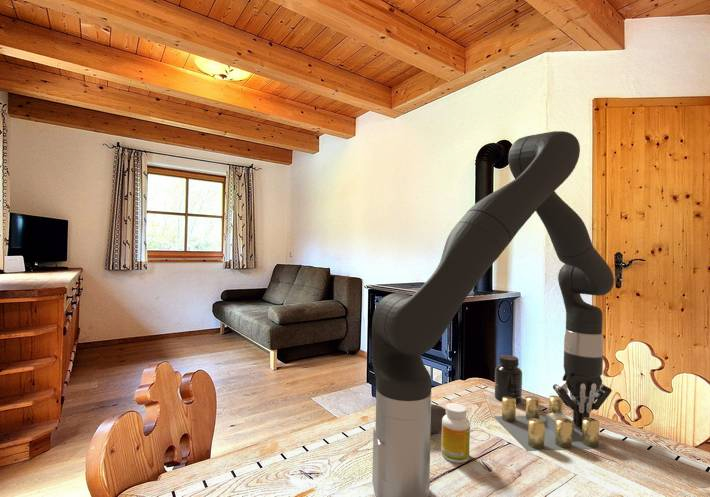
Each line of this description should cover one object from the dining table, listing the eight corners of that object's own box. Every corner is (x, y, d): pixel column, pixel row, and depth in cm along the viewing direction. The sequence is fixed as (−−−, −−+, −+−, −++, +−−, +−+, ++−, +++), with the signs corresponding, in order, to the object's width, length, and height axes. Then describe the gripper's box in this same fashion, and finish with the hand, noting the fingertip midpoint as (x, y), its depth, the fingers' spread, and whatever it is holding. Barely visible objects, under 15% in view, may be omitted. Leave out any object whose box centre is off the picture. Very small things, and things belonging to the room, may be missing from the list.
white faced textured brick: (556, 435, 80) (557, 421, 80) (545, 426, 84) (546, 413, 84) (573, 435, 80) (574, 421, 80) (562, 426, 84) (562, 413, 84)
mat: (498, 454, 73) (498, 451, 73) (469, 419, 88) (469, 416, 88) (605, 451, 75) (605, 448, 75) (559, 417, 90) (559, 414, 90)
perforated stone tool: (446, 426, 85) (447, 396, 85) (455, 437, 80) (456, 406, 80) (383, 429, 83) (384, 398, 83) (389, 441, 77) (389, 409, 77)
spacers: (533, 449, 74) (533, 425, 74) (499, 416, 89) (500, 396, 89) (602, 447, 75) (602, 423, 75) (558, 415, 90) (558, 395, 90)
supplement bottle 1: (470, 465, 69) (471, 414, 69) (441, 461, 70) (442, 411, 70) (467, 450, 75) (468, 403, 75) (440, 446, 76) (441, 400, 76)
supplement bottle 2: (489, 398, 101) (489, 355, 101) (506, 394, 104) (507, 352, 104) (508, 408, 95) (509, 362, 95) (527, 403, 98) (528, 359, 98)
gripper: (566, 355, 78) (564, 436, 78) (623, 356, 79) (621, 435, 79) (545, 346, 86) (543, 420, 86) (598, 346, 87) (596, 419, 87)
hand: (581, 427), depth 82 cm, fingers closed
